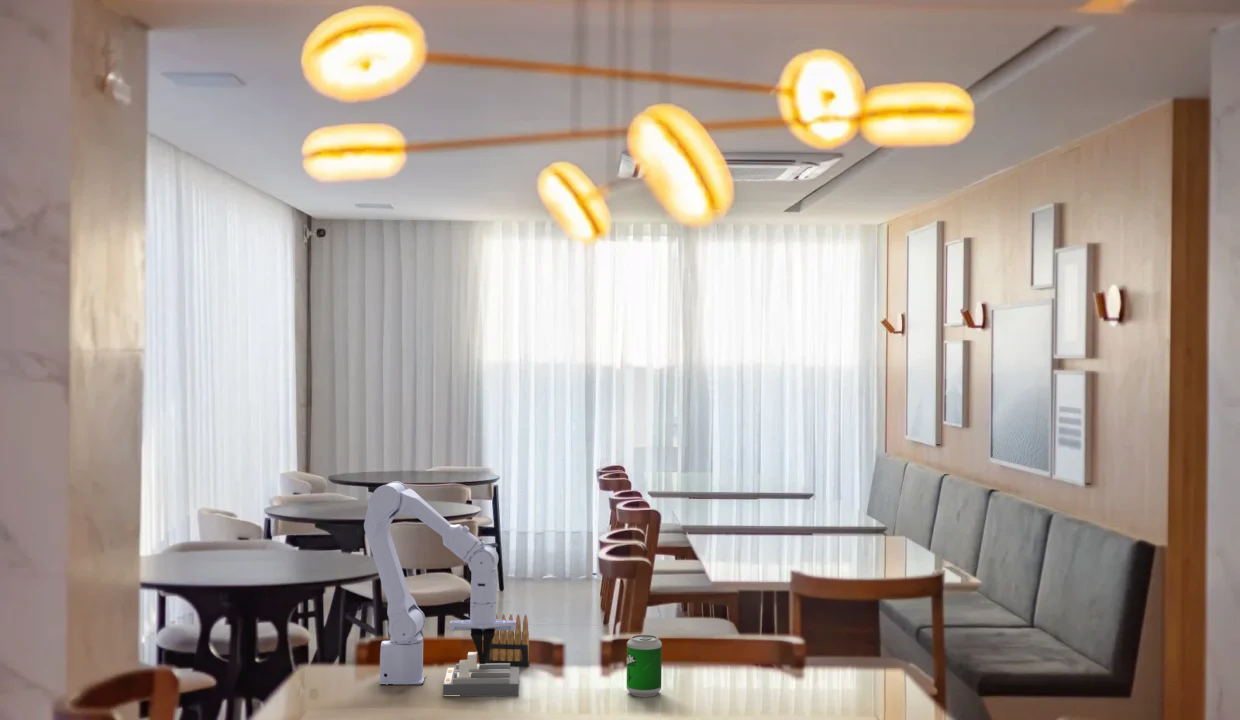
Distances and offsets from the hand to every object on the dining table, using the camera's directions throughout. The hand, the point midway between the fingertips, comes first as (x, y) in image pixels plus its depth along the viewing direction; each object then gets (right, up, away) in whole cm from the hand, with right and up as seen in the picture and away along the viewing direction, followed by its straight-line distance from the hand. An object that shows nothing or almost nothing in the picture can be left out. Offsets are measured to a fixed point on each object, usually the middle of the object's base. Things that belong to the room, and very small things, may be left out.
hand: (482, 663), depth 265 cm
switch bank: (0, -4, -3) cm, 6 cm away
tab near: (-3, -2, -7) cm, 8 cm away
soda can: (+36, -5, -7) cm, 37 cm away
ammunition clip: (+4, -5, +16) cm, 17 cm away
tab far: (-2, -2, 0) cm, 3 cm away
